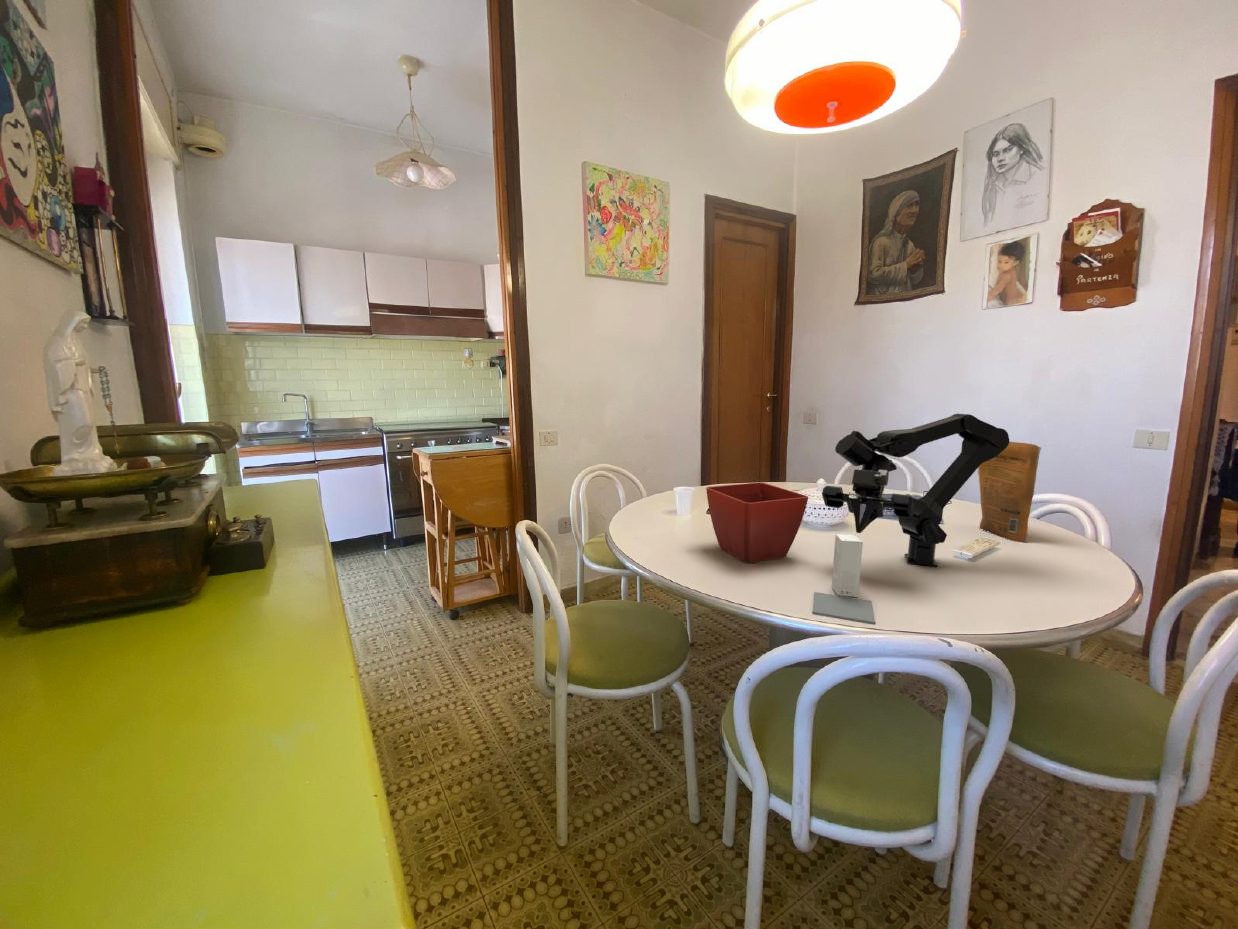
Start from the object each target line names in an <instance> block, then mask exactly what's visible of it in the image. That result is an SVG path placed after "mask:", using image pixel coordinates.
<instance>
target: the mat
mask: <svg viewBox="0 0 1238 929" xmlns="http://www.w3.org/2000/svg"><path fill="white" fill-rule="evenodd" d="M812 601H813V602H812V613H814V615H820V616H825V617H830V616H831V617H830V618H836V619H842V620H848V621H853V622H854V621H855V622H859V623H865V624H872V625H876V618H875V611H874V608H873V607H874V606H873V602H872V600H869V599H863V598H858V597H850V596H839V595H837V594H831V593H824V592H819V591H814V592H813V600H812Z"/></svg>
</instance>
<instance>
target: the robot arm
mask: <svg viewBox="0 0 1238 929" xmlns="http://www.w3.org/2000/svg"><path fill="white" fill-rule="evenodd" d="M956 434H957V435H958V436H959V437H961V438H962V439H963V440H962V442H961V448H960V449H961V451H960V454H958V456H957V457H956V458H955V460H953V462H951V464H950V465H949V466H948V467H947V468H946V470H944V472H943V474H941V476H940V477H939V478H938V479H937V480H936V481H935V483H934V484H933V485H932V487H931V488H930V489H929V490H928V491H927V492H926V493H925V495H923V496H922V497H920V498H916V497H912V496H911V495H909V494H901V493H892V494H891V498H885V497H883V495H884V494H883V493H884V490H885V486H888V483H889V474H890V472H893V471H896V470H898V468H897V465H896V464H895V463H894V462H893V460H892V459H889V458H888V457H895V458H904V457H906V456H908V455H910V454H912V453H914V452H916V451H917V450H918V448H919V447H921V446H923V445H924V444H928V443H931V442H935V441H938V440H941V439H944V438H947V437H950V436H954V435H956ZM1009 442H1011V440H1010V436H1009V433H1008V431H1007V430H1006V429H1004V428H1002V427H996V426H995V425H992V424H990V423H988V422H985V421H983V420H981V419H979V418H977V417H976V416H975V415H973V414H966V413H954V414H952V415H950V416H947V417H944V418H941V419H938V420H935V421H931V422H929V423H925V424H922V425H918V426H916V427H912V428H906V429H904V428H903V429H890V430H884V431H881V432H879V433H878V434H877V435H876V437H873V438H870V439H867V438H866V437H865V436H864V435H863V433H861V432H860V431H858V430H852V431H851V433H850V434H847V435H846V436H844V437H843V438H842V439H840V440H838V441H837V444H836V446H835V450H834V451H835V453H836V454H838V455H839V456H840V457H842V458H843V459H844V460H846V461H847V462H848V463H849V464H851V465H852V466H853V467H860V466H861V469H858V468H857V469H856V468H855V469H854V470H853V475H852V479H851V485H852V492H851V491H849V492H848V493H844V489H843V487H842V486H834V485H825V487H823V488H822V491H821V496H822V499H823V500H822V501H823V503H824V505H825V506H826V507H827V508H834V509H840V508H842V507H844V504H845V503H846V504H847V507H848V512H849V513H850V514H853V516H854V523H855V524H854V525H855V533H857V534H861V533H863V531H865V529H866V528H867V527H868V526H869V525H870V524H871V523H873V522H874V521H875V520H876V519H878V518H883V517H884V509H885V508H888V509H893V512H892V513H893V514H894V516H895V517H897V518H898V524H899V525H900V527H901V529H902V534H904V535H908V536H909V539H908V550H907V553H904V558H905V560H906V562H907V564H912V565H920V566H928V567H936V568H937V567H939V564H938V563H937V561H936V559H935V558H936V557H935V555H936V554H935V553H936V546H937V545H939V544H942V543H945V540H946V538H947V536H948V534H947V533H946V532H945V531H944V530H943V528H942V527H941V526H940V523H942V520H943V513H944V508H946V506H947V505H948V504H949V502H950V501H951V500H952V499H953V498H954V496H956V494H957V493H958V492H959V491H960V489H961V488H962V487H963V486H964V485H965V483H966V482H967V481H968V480H969V479H970V478H971V477H972V476H973V474H974V473H975V472H976V470H978V467H979V466H980V465H981V464H982V463H984V462H986V461H988V460H990V459H992V458H995V457H996V456H998V455H999V454H1000V453H1001V452H1002V451H1003V450H1005V449H1006V448H1007V446H1008V445H1009ZM887 456H888V457H887ZM863 505H864V506H865V509H864V512H863Z"/></svg>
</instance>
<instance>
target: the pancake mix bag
mask: <svg viewBox="0 0 1238 929" xmlns="http://www.w3.org/2000/svg"><path fill="white" fill-rule="evenodd" d="M1041 450H1042V447H1041V446H1038V445H1036V444H1032V443H1026V442H1015V441H1010V442H1009V445H1008V446H1007V448H1006V449H1005V450H1003V451H1002V452H1001V453H1000V454H999V455H998V456H996V457H995V458H992V459H990V460H988V461H986V462H984V463H982V464H981V465H980V466H979V467H978V468H977V474H978V484H979V494H980V496H979V498H980V508H981V509H980V510H981V520H980V523H979V529H980V528H981V529H983V530H982V531H984V530H985V531H984V532H987V531H989V532H991V533H990V534H992V533H993V535H995V534H997V535H996V536H998V535H999V537H1001V538H1003V537H1005V538H1004V539H1006V538H1007V539H1006V540H1008V539H1010V540H1009V541H1014V542H1019V541H1021V543H1028V530H1029V529H1028V528H1029V518H1030V515H1031V514H1030V513H1031V507H1032V502H1033V497H1034V494H1035V485H1036V480H1037V472H1038V466H1039V460H1040V455H1041V454H1040V453H1041ZM981 529H980V530H981ZM989 532H988V533H989Z"/></svg>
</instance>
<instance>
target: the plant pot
mask: <svg viewBox="0 0 1238 929" xmlns="http://www.w3.org/2000/svg"><path fill="white" fill-rule="evenodd" d="M705 490H706V497H707V505H708V510H709V515H710V519H711V524H712V528H713V531H714V534H715V537H716V540H717V544H718V546H719V548H720V549H722V550H723V551H725V552H726V553H728V554H730V555H732V556H733V557H735V558H737V559H739V560H740V561H742V562H744V563H755V562H762V561H768V560H769V561H770V560H776V559H782V558H785V557H787V555H788V553H789V551H790V549H791V547H792V545H793V543H794V541H795V539H796V537H797V534H798V532H799V529H800V528H801V527H800V526H801V524H802V521H803V518H804V516H805V512H806V508H807V505H808V500H809V496H808V495H804V494H802V493H798V492H795V491H792V490H789V489H786V488H781V487H779V486H776V485H773V484H768V483H765V482H748V483H737V484H727V485H726V484H725V485H715V486H714V485H713V486H707V487H706V488H705Z"/></svg>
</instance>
